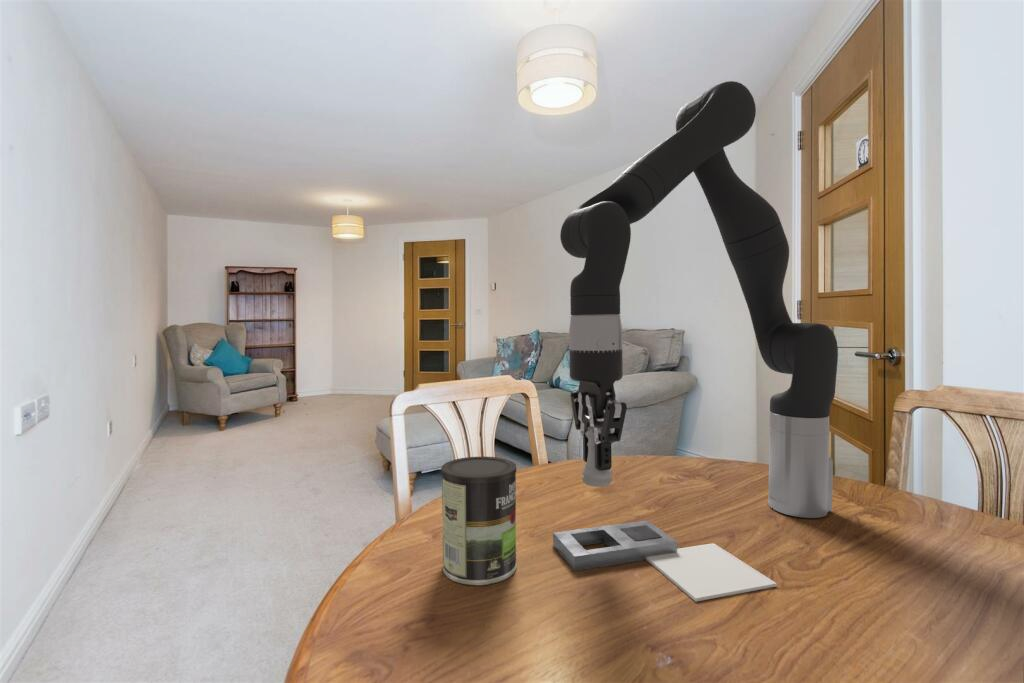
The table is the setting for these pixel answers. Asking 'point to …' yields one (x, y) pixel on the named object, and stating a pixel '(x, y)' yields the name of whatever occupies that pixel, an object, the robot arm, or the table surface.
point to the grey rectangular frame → (613, 544)
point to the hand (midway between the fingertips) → (596, 464)
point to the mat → (709, 572)
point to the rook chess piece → (590, 472)
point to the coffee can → (479, 520)
